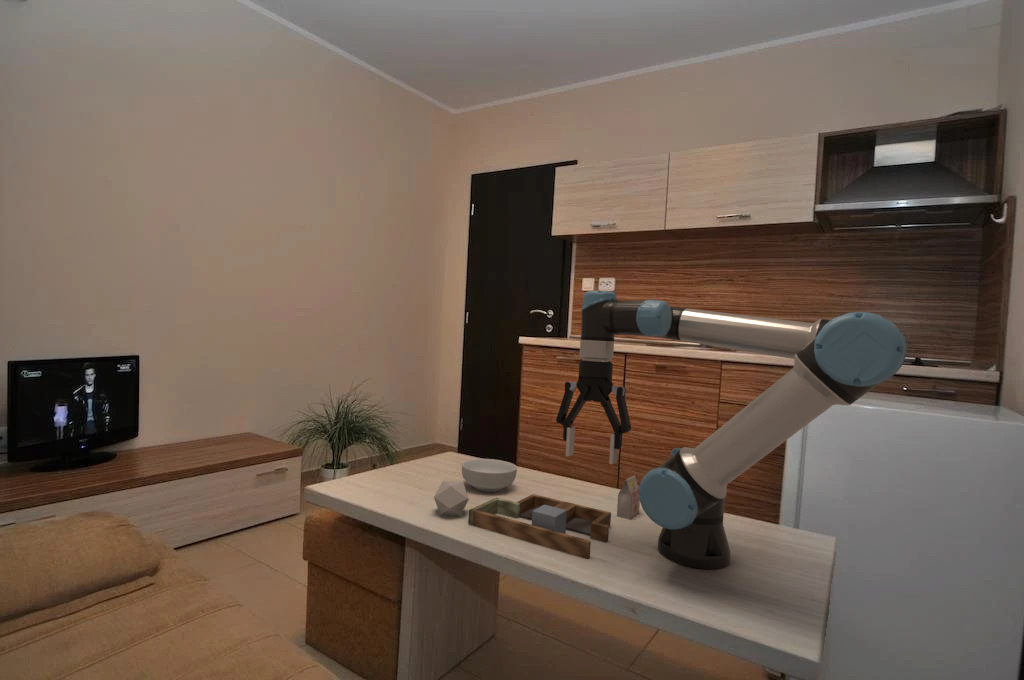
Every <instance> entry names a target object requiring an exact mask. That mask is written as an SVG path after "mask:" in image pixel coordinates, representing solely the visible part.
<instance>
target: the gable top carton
mask: <svg viewBox="0 0 1024 680" xmlns="http://www.w3.org/2000/svg"><path fill="white" fill-rule="evenodd" d="M640 505H641V503H640V499H639V485H638V481H637V478H636V475H633V476H630V477H628V478H626V479H625V480H624V483H623V485H622V487H621V489H620V490H619V491H618V493H617V503H616V507H617V508H616V517H618V518H621V519H626V520H632V519H633V518H635V517H637V515H639V514H640Z"/></svg>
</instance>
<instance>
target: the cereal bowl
mask: <svg viewBox="0 0 1024 680" xmlns="http://www.w3.org/2000/svg"><path fill="white" fill-rule="evenodd" d="M517 469H518V467H517V465H516V464H514V463H512V462H509V461H504V460H500V459H494V458H491V459H490V458H474V459H473V458H472V459H468V460H465V461H464V462H463V463H462V464H461V474H462V478H463V480H464V481H465V482H466V484H469V486H472V487H473V488H475V489H476V490H478V491H480V492H486V493H487V492H489V493H493V492H499V491H500V490H502V489H504V488H508V487H509V486H511V485H513V483H514V481H515V480H516V477H517Z"/></svg>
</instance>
